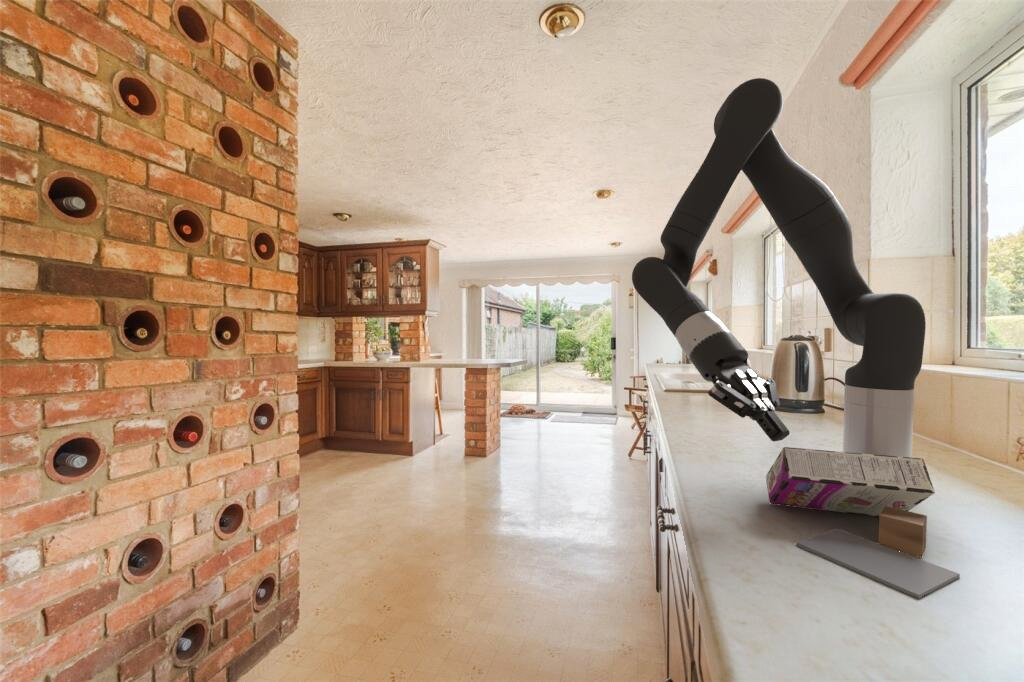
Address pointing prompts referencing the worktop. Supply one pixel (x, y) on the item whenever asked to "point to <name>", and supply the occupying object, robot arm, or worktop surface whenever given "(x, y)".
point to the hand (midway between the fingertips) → (782, 437)
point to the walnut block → (903, 531)
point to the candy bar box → (847, 481)
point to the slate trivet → (879, 562)
